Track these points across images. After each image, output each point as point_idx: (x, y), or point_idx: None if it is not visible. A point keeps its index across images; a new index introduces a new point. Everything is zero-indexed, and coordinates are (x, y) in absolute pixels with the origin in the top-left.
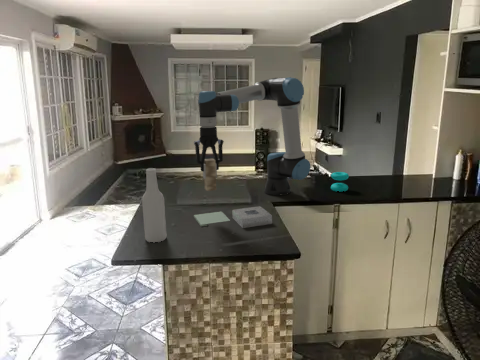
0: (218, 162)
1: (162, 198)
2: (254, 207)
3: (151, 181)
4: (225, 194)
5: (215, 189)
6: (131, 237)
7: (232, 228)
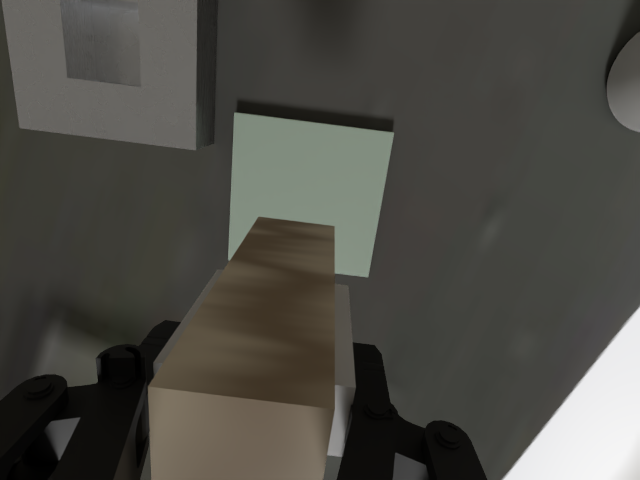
0: (113, 356)
1: None
2: (59, 123)
3: None
4: None
5: (264, 218)
6: None
7: (258, 21)
